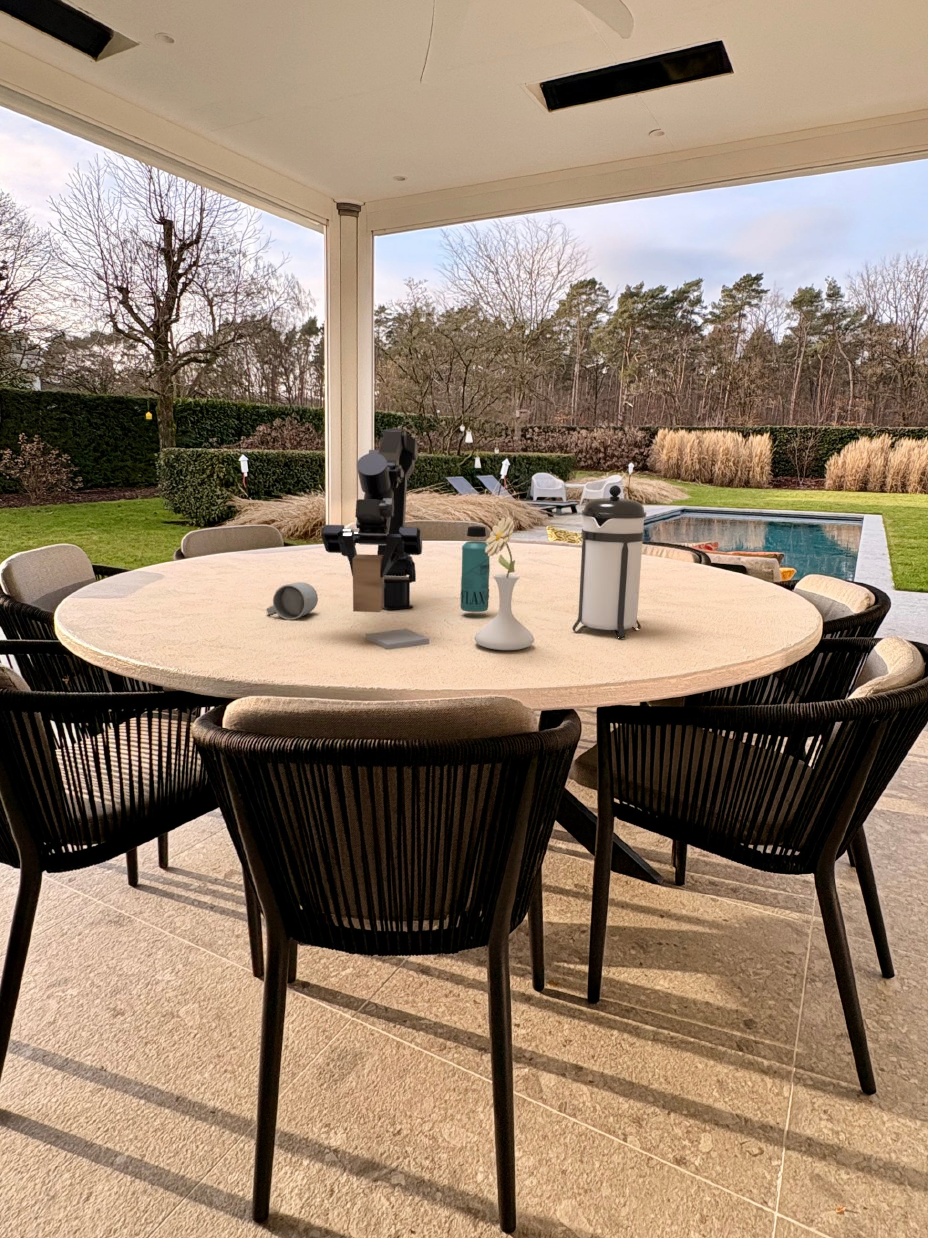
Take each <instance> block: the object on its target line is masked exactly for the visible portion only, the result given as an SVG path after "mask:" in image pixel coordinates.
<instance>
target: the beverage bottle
mask: <svg viewBox="0 0 928 1238" xmlns="http://www.w3.org/2000/svg"><path fill="white" fill-rule="evenodd" d="M466 532H467V533H466V536H467V537H471V538H483V537H487V533H486V527H485V526H480V525H474V526H473V525H472V526H468V527H467V531H466ZM487 545H488V543H486V541H481V540H480V541H479V540H471V541H466V542H465V543H464V544H463V545H462V546H461V551H462V552H461V578H460V594H459V595H460V598H459V601H460V603H459V604H460V605H459V606H460V609H461V611H463V612H469V613H470V612H471V613H481V612H487V611H488V609H489V603H490V601H489V599H490V568H491V565H490V557H491V556H488V553H485V548H486V547H487Z"/></svg>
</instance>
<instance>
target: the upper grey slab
mask: <svg viewBox="0 0 928 1238" xmlns="http://www.w3.org/2000/svg"><path fill="white" fill-rule="evenodd" d="M365 640H367V641H369V642H371V643H373V644H375V645H377V646H379V647H380V646H381V647H380V648H382V647H383V649H384V648H385V649H384V650H386V649H387V650H394V649H401V648H402V649H403V648H409V647H413V646H414V647H416V646H421V645H428V644H430V638H429V637H427V636H425V635H422V634H421V633H419V632H415V631H414V630H411V629H408V628H400V629H394V630H385V631H379V632H369V633H365Z"/></svg>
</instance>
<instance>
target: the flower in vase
mask: <svg viewBox="0 0 928 1238" xmlns="http://www.w3.org/2000/svg"><path fill="white" fill-rule="evenodd" d="M514 529H515V524H514V521H513V518H511V517H510V516H508V517H507V518H505V517H502V518H501V520H500V521H498V523H497V525H493V527H492V531H491V532H490V533H489V537H488V538H486V540H485V542H486V543H487V544H488V545H487V547H486V548H485V553H488V556H490V557H493V556H495V555H498V553H500V552H501V551H502V550H503V549H504V547H506V548H507V551H508V554H509V558H510V560H509V562H508V561H507V560H506V558H504V556H503V555H502V554H500V555H499V557H498V563H499V564H500V565H501V566H502V567H504V569H506V570H507V573H494V574H493V575H492V577H493V579H494V580H495V582H496V584H497V588H498V594H499V605H498V612H497V615H495V616H494V617H493V618H492V619H491V620H489V622H487V623H486V624H485V625H483V626H482V627H481V628H480V629H478V631H477V632H476V633H475V635H474V638H473V639H474V641H475V642H476V644H477V645H479V646H481V647H483V648H487V649H490V650H494V651H495V650H497V651H515V650H516V651H517V650H522V649H526V648H528V647H531V646H532V645H533V644H534V642H535V637H534V635H533V634H532V632H531V631H530V630H529V629H528V628H527V627H526V626H524V625H523V623H521V622H520V621H519V620H518V619H517V618H516V617H515V616H514V613H513V611H512V599H513V591H514V588H515V585H516V583H517V581H518V580H519V578H520V577H521V576H520V575H519V574H514V573H515V571H516V570H515V563H516V559H514V560H513V556H512V555H513V554H512V551H511V549H510V546H509V544H508V542H509V541H510V540H511V538H512V535H513V532H514Z"/></svg>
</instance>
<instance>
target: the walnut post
mask: <svg viewBox="0 0 928 1238" xmlns="http://www.w3.org/2000/svg"><path fill="white" fill-rule="evenodd" d="M383 558H384V555H377V554H363V553H362V554H360V553H357V555H356V556H355V557H354V558H353V576H352V612H355V613H356V612H360V613H362V612H363V613H381V612H382V610H383V609H384V608H383V607H384V577H383V578H382V577H381V566H382V562H383Z"/></svg>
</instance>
